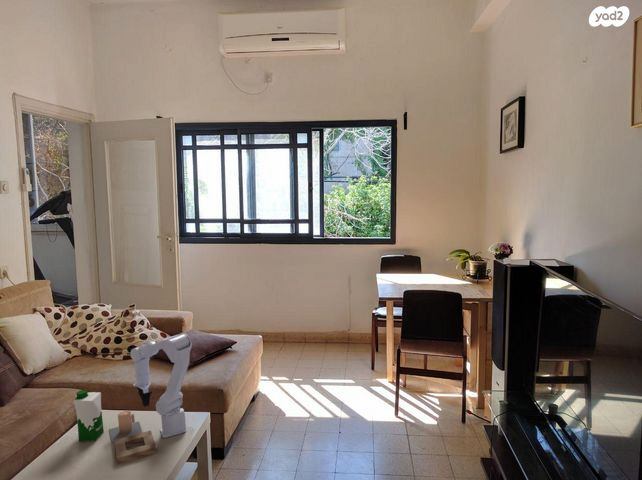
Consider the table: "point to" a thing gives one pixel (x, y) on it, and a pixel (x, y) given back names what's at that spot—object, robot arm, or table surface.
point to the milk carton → (89, 415)
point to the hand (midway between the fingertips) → (145, 402)
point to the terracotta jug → (125, 422)
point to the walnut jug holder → (136, 452)
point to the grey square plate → (116, 435)
